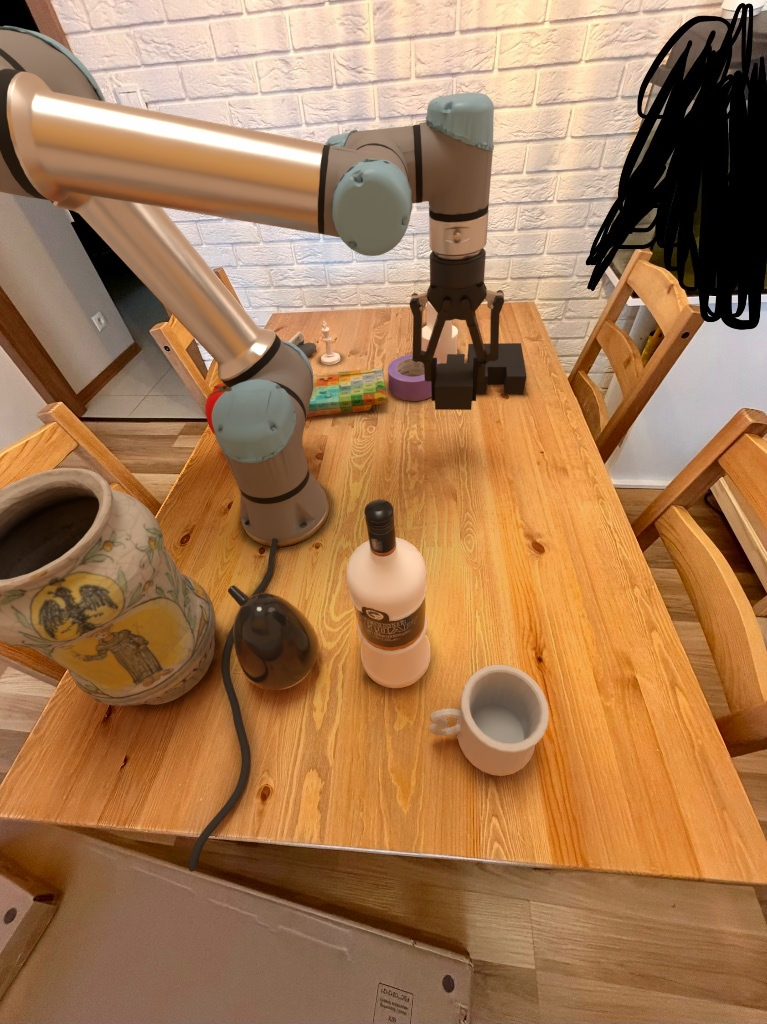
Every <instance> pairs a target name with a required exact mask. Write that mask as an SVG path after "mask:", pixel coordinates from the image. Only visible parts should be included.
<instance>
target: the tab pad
mask: <svg viewBox="0 0 767 1024" xmlns="http://www.w3.org/2000/svg"><path fill="white" fill-rule="evenodd" d="M465 356H466V355H465V353H457V354H447V362H446V363H438V364H437V374H436V380H435V401H434V410H436V411H437V410H441V411H445V410H446V411H449V410H450V411H472V406H473V405H472V404H473V401H472V390H473V363H467V362H465V358H466V357H465Z"/></svg>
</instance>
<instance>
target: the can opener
mask: <svg viewBox="0 0 767 1024" xmlns="http://www.w3.org/2000/svg"><path fill="white" fill-rule="evenodd" d="M287 342H291V343H293V344H294V345H296V346H297V347H298V348H300V349H301V350H302V351H303V352H304V354H305V355H306V356H307V358H309V357H311V356H313V355H314V354H315V353H316V350H317V345H316V343H314V342H308V341H307V342H305V337H304V334H303V333H302V331H300V330H298V331H297V332H296V333H295V334H294V335H293V336H292V337H291V338H290V339H288V341H287Z"/></svg>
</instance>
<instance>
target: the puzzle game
mask: <svg viewBox="0 0 767 1024" xmlns="http://www.w3.org/2000/svg"><path fill="white" fill-rule="evenodd" d="M384 373H385V372H384V367H381V368H380V367H379V368H369V369H357V370H347V371H336V372H326V373H313V383H314V387H313V393H312V397H311V399H310V404H309V409H308V413H307V417H317V416H327V415H336V414H337V415H338V414H347V413H355V412H367V411H370V410H371V409H372V406H374V405H383V404H385V403H388V397H387V389H386V381H385V374H384Z"/></svg>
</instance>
